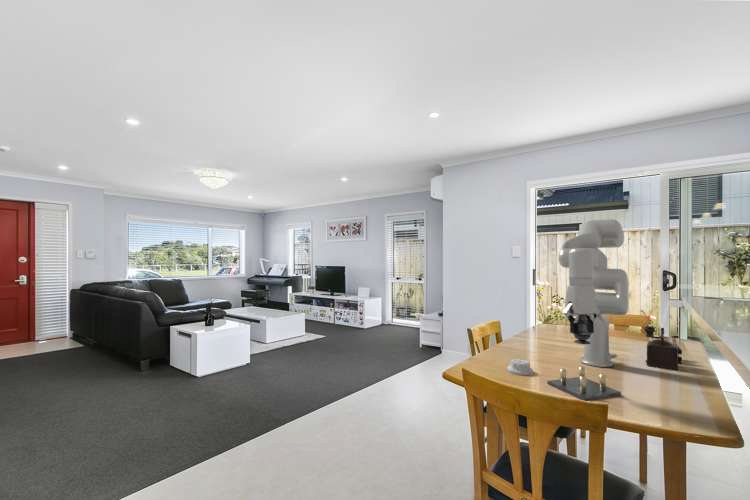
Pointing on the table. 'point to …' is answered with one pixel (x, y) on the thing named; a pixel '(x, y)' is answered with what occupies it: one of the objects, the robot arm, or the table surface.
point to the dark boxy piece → (661, 351)
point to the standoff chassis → (583, 386)
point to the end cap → (679, 357)
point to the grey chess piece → (582, 331)
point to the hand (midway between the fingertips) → (581, 332)
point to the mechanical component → (520, 367)
